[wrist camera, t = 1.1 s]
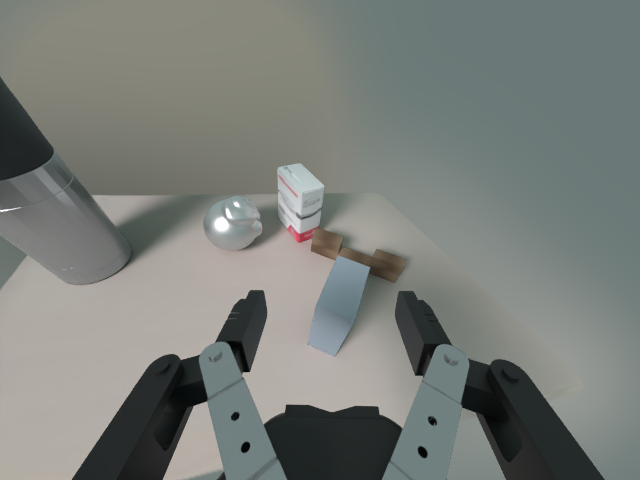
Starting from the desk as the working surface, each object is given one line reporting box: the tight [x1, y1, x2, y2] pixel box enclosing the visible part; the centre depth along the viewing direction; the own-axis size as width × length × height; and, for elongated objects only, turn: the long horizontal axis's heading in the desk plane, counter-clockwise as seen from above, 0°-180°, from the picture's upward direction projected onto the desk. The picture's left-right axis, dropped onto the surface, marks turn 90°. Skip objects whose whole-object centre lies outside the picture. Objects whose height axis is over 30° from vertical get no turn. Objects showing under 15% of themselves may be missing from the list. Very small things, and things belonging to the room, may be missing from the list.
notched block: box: [308, 255, 370, 357], centre depth 29 cm, size 4×7×12 cm, turn 159°
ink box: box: [277, 163, 325, 243], centre depth 42 cm, size 8×5×12 cm, turn 34°
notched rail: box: [311, 228, 406, 283], centre depth 40 cm, size 16×2×4 cm, turn 69°
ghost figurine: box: [203, 196, 263, 251], centre depth 38 cm, size 9×10×10 cm
